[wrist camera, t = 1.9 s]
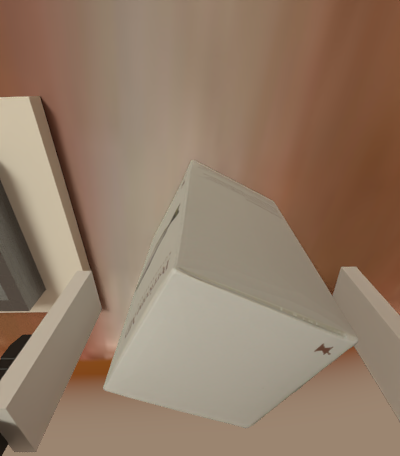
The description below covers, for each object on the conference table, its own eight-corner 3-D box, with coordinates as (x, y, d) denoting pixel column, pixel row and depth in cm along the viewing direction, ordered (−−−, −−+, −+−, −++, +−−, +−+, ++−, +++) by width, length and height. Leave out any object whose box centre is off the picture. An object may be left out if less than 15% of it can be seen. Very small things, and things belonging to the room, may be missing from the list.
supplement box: (191, 155, 18) (174, 261, 7) (276, 200, 20) (371, 345, 9) (151, 234, 21) (95, 393, 10) (227, 267, 23) (251, 436, 12)
